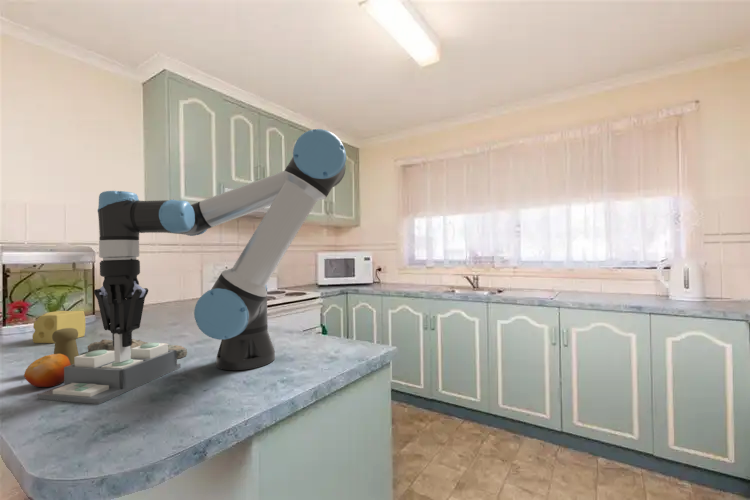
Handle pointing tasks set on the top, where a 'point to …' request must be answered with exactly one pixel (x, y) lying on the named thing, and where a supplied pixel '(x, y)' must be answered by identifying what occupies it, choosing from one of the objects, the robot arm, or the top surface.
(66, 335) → the cork
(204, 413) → the top surface
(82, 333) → the cheese
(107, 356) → the button
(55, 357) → the fruit
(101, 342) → the elongated rock
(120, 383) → the button panel
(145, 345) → the button
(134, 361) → the button
